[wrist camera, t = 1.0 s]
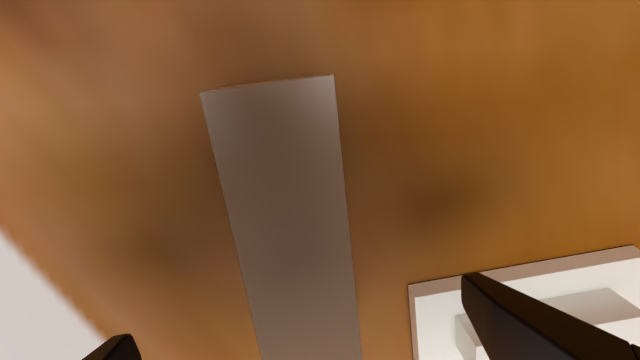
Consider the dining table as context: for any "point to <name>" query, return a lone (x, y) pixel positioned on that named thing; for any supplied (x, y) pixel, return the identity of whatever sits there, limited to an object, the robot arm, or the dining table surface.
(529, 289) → the display rest
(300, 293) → the gray cuboid brick
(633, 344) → the robot arm
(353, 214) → the dining table surface
